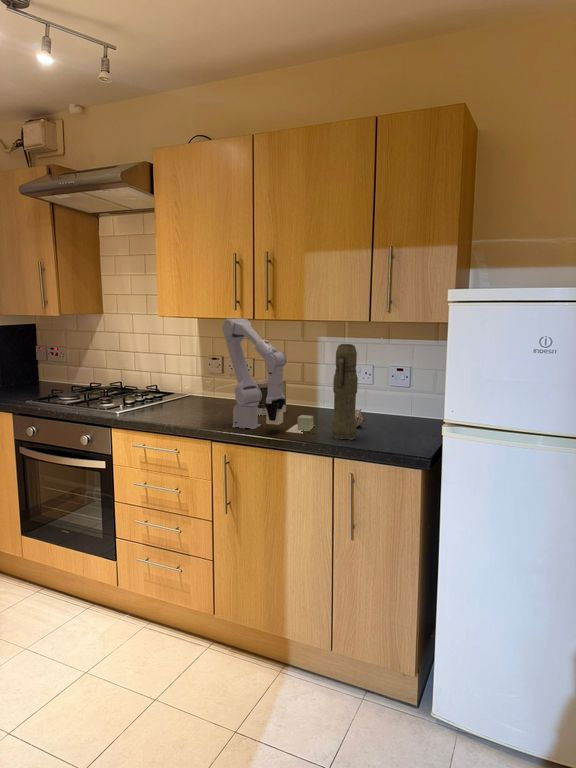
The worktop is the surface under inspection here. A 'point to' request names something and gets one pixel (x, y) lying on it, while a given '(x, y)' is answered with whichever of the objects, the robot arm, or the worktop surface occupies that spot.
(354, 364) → the stone moai statue
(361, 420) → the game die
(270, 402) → the robot arm
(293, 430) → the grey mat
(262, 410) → the tea box
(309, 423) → the pale green cube
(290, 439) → the worktop surface
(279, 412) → the cream brick
